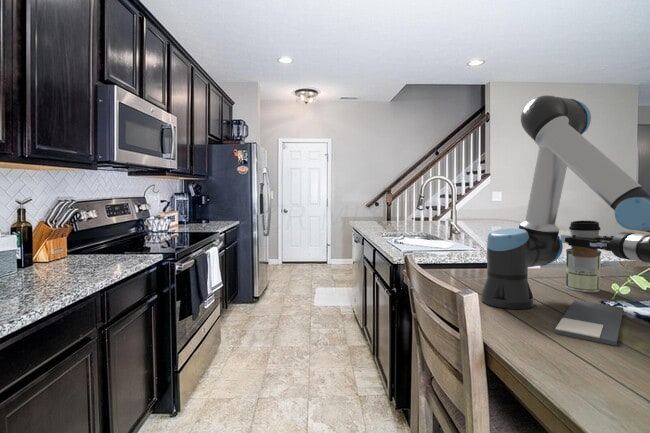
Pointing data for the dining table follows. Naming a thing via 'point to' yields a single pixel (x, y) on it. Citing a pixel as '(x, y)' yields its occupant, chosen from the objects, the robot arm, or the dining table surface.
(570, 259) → the coffee can
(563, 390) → the dining table surface
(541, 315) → the dining table surface
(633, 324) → the dining table surface
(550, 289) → the dining table surface
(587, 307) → the mat
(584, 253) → the coffee cup
